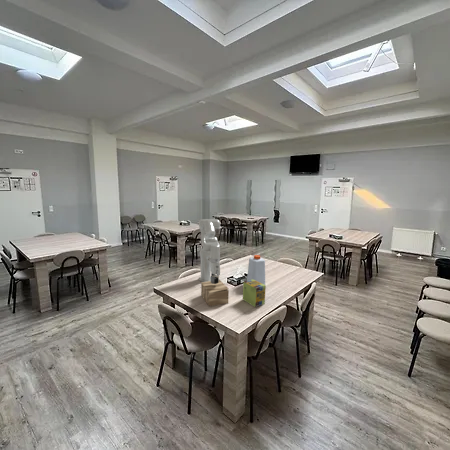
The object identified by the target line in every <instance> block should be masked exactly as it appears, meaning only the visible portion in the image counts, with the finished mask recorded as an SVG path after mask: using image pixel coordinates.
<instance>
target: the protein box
mask: <svg viewBox="0 0 450 450" xmlns="http://www.w3.org/2000/svg"><path fill="white" fill-rule="evenodd" d="M242 285H243V286H242V300H243V301H244V302H246V303H248V304H250V305H251V306H253V307H254V308H257V307H260V306H263V305H265V303H266V284H265V285H264V284H262V283H260V282H258V281H255V280H253V279H252V280H249V281H247V280H245V281H243V283H242Z"/></svg>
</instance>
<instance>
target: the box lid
mask: <svg viewBox="0 0 450 450" xmlns="http://www.w3.org/2000/svg"><path fill="white" fill-rule="evenodd" d="M201 284H202V285H203V286H204V287H205V289H206V290H207V291H208V292H209V293H214V292H218V291H223V290H229V287H228V286H227V285H226V284H225V283H224V282H222V280H221V279H219V283H217V284H212V283H211V281H208V282H201ZM201 284H200V285H201Z"/></svg>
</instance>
